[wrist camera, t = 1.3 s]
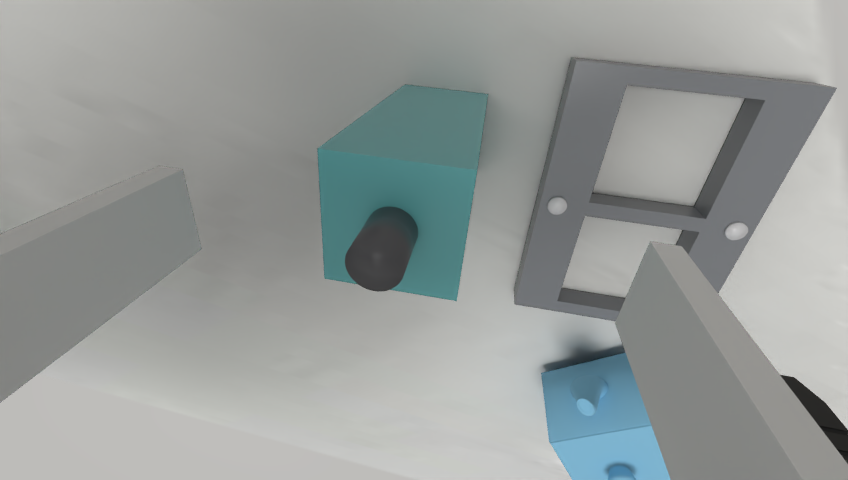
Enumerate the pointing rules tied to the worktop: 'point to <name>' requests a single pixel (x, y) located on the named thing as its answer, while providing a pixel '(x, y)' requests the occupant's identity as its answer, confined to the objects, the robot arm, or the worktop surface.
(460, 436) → the worktop surface
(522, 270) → the socket plate
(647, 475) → the boxy blue kettle
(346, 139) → the plug
